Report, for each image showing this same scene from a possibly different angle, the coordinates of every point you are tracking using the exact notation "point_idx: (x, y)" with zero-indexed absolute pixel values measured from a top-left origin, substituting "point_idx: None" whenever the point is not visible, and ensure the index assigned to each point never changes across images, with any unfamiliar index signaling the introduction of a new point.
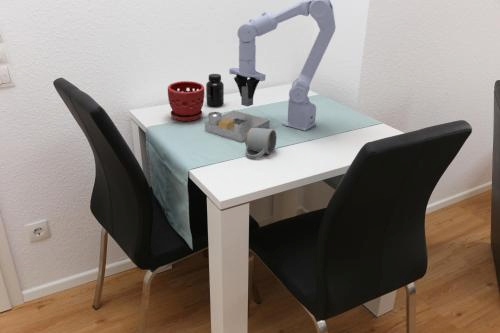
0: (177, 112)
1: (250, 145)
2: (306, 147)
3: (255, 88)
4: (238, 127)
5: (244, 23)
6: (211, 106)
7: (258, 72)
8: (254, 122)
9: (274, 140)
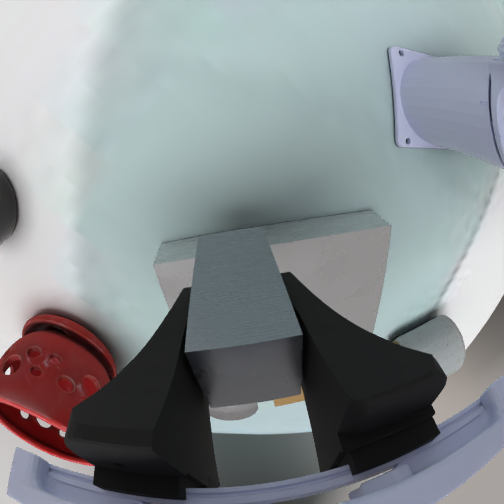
0: None
1: None
2: (486, 244)
3: (338, 319)
4: None
5: None
6: (9, 235)
7: (467, 479)
8: (352, 294)
9: (447, 322)
